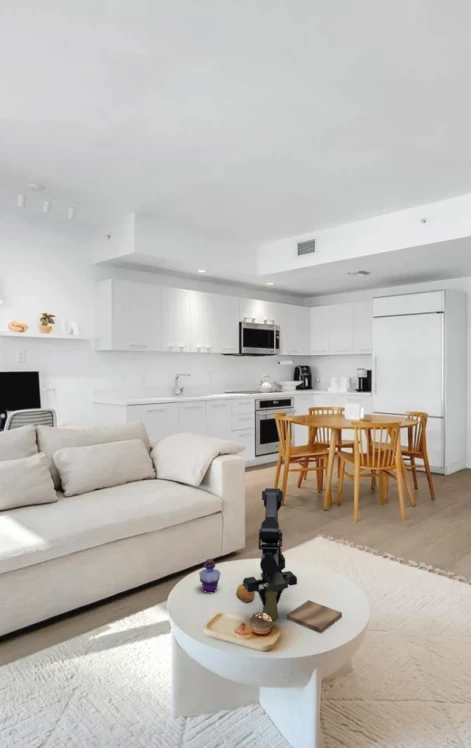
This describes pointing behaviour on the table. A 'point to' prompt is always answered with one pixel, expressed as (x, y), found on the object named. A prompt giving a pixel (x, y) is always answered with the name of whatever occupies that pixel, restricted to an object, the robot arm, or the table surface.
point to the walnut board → (314, 616)
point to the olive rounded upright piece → (271, 604)
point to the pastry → (244, 594)
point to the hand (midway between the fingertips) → (270, 604)
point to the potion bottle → (209, 576)
